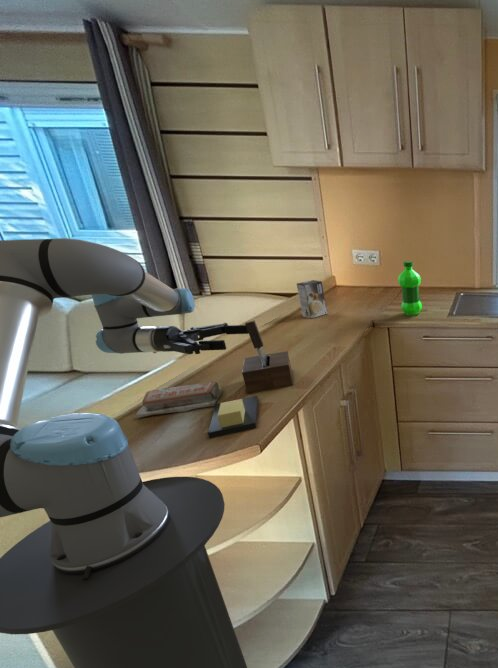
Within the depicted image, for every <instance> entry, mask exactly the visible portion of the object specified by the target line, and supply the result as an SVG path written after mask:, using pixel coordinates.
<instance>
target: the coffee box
mask: <svg viewBox="0 0 498 668" xmlns="http://www.w3.org/2000/svg"><path fill="white" fill-rule="evenodd" d="M296 287H297V293H298V298H299V303H300V304H299V305H300V308H301V315H302V317H303V318H308V319H314V318H319V317H321V316H324V315H327V314H328V309H327V305H326V304H327V303H326V300H325V293H324V286H323V281H321V280H315V279H312V280H308V281H307V280H306V281H301V282H297V283H296ZM325 312H326V313H325Z"/></svg>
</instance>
